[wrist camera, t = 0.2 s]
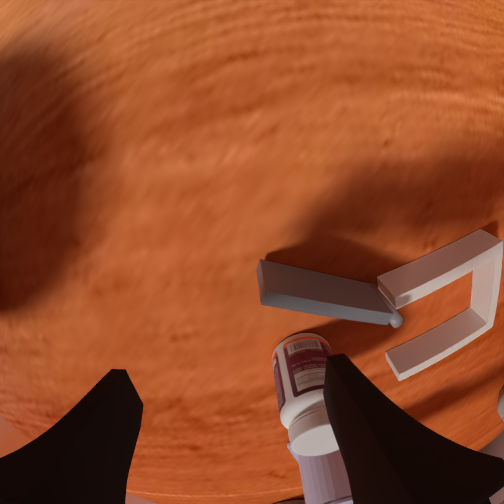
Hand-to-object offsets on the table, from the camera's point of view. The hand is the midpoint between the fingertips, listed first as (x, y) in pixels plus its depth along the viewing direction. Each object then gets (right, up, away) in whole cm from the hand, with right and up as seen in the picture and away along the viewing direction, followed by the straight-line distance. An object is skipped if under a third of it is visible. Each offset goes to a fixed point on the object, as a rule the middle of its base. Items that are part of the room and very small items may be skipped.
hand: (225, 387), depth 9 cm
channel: (+16, +1, +11) cm, 20 cm away
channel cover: (+5, +3, +9) cm, 11 cm away
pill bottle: (+5, -3, +12) cm, 14 cm away
